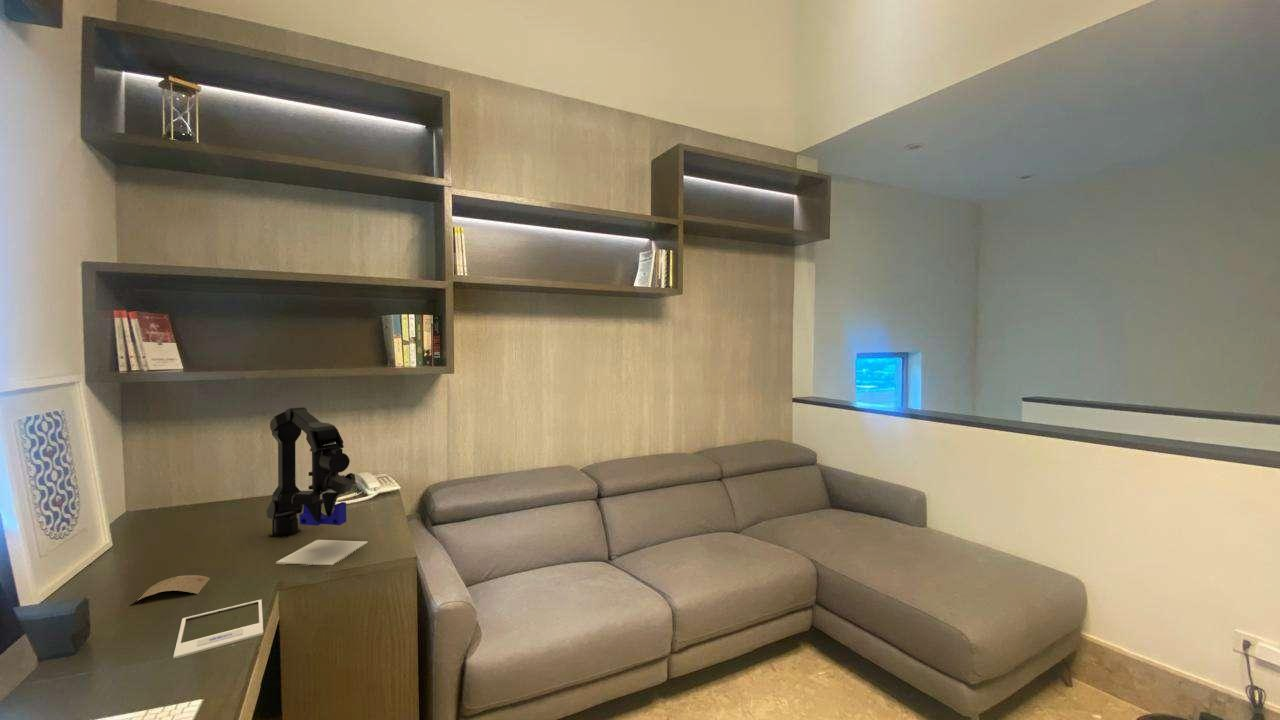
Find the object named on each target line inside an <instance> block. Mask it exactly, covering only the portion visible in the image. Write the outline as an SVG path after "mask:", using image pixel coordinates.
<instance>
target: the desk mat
mask: <svg viewBox="0 0 1280 720" xmlns="http://www.w3.org/2000/svg"><path fill="white" fill-rule="evenodd" d="M367 543H368V544H369V541H366V540H365V541H358V540H338V539H337V540H335V539H332V540H331V539H316V540H314V541H312V542H310V543H308V544H307V545H304V546H303V547H301V548H299V549H298V550H296V551H294V552H292V553H290V554H288V555H286V556H284V557H282V558H281V559H279V560H277V561H275V565H285V564H306V565H305V566H309V565H312V564H313V565H334V564H335V563H337V562H338V563H339V561H340V560H341V561H342V559H343V560H345V559H346V558H347V556H348V555H349V554H351V553H352V554H354V553H355V552H357V551H358V550H357V549H359V548H360V547H362V546H363V547H364V545H365V544H366V545H368V544H367ZM366 545H365V546H366ZM363 547H362V548H363ZM360 549H361V548H360ZM360 549H359V550H360ZM356 550H357V551H356ZM354 551H355V552H354ZM353 552H354V553H353ZM352 554H351V555H352ZM349 556H350V555H349ZM349 556H348V557H349ZM345 557H346V558H345ZM341 561H340V562H341ZM338 563H337V564H338ZM307 564H308V565H307ZM335 565H336V564H335ZM335 565H334V566H335Z"/></svg>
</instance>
